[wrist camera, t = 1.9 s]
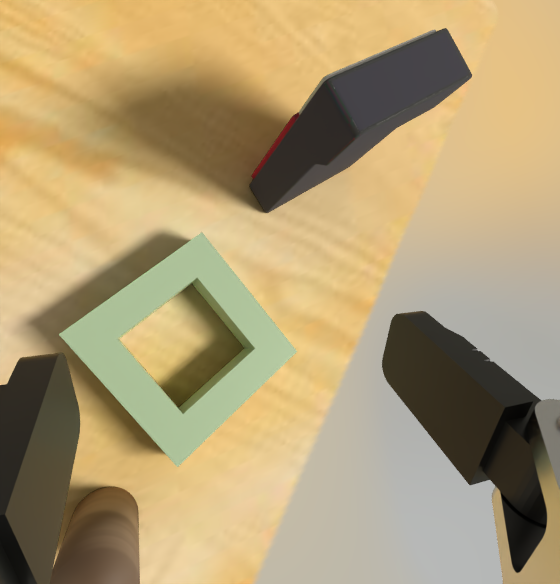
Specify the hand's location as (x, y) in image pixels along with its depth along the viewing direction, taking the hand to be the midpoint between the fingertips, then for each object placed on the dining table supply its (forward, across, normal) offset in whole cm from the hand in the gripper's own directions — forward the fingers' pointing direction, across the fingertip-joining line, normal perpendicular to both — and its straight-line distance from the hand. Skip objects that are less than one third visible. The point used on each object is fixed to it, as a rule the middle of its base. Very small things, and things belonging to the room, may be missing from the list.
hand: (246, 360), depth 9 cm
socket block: (+18, +1, +12) cm, 22 cm away
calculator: (+28, -11, +1) cm, 30 cm away
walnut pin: (+11, +7, +22) cm, 26 cm away
